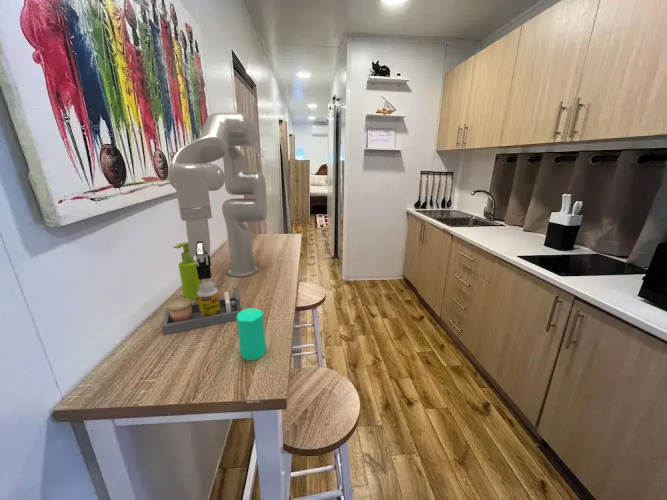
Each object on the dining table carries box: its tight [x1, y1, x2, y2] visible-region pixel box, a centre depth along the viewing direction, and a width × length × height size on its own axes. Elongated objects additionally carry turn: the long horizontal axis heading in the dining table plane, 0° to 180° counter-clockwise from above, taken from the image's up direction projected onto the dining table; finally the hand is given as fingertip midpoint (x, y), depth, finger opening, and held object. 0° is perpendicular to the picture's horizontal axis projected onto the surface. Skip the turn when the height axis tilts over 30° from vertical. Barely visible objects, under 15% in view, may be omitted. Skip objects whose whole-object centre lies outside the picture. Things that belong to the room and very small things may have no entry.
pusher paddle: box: [223, 291, 231, 312], centre depth 83 cm, size 8×1×5 cm, turn 24°
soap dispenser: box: [172, 241, 202, 301], centre depth 92 cm, size 6×7×20 cm
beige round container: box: [167, 297, 193, 323], centre depth 79 cm, size 6×6×6 cm
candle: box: [236, 307, 267, 361], centre depth 66 cm, size 6×6×12 cm
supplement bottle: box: [197, 281, 220, 317], centre depth 81 cm, size 6×6×10 cm
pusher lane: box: [161, 287, 242, 336], centre depth 81 cm, size 11×20×7 cm, turn 114°
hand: (205, 272), depth 79 cm, fingers open, 9 cm apart
